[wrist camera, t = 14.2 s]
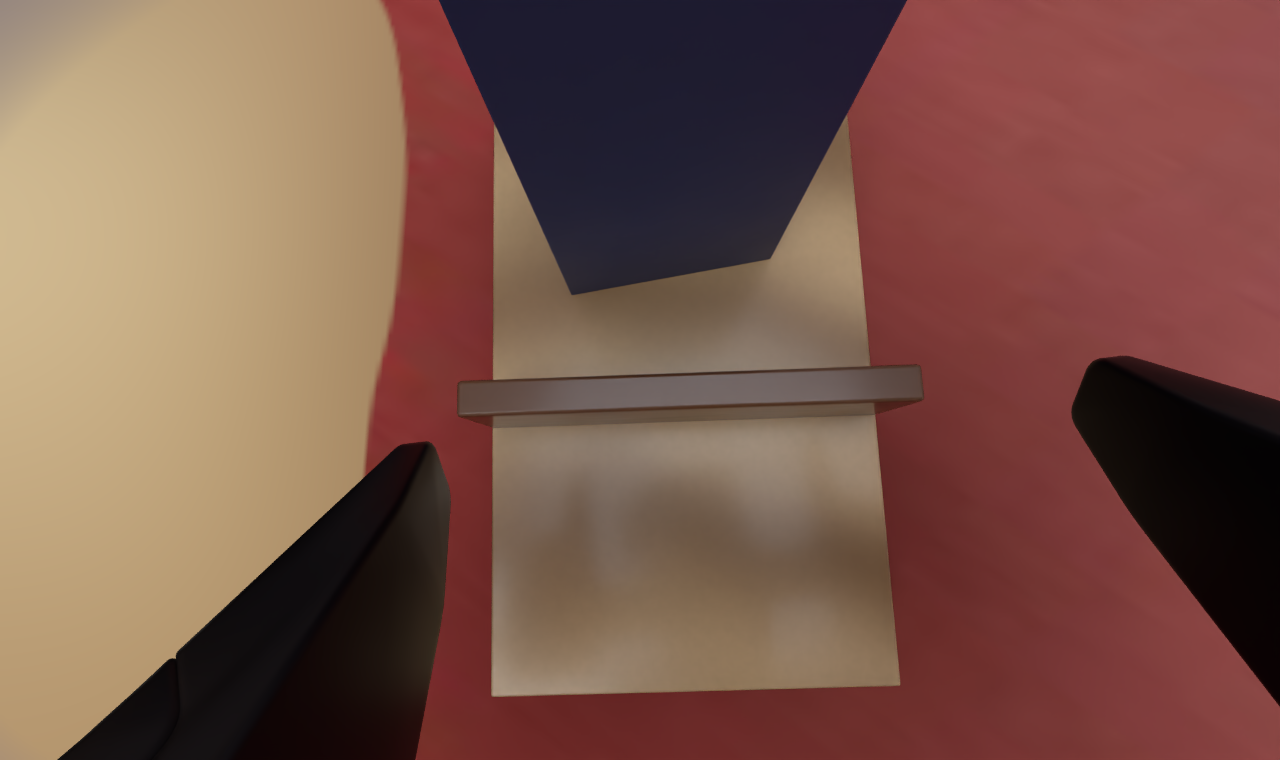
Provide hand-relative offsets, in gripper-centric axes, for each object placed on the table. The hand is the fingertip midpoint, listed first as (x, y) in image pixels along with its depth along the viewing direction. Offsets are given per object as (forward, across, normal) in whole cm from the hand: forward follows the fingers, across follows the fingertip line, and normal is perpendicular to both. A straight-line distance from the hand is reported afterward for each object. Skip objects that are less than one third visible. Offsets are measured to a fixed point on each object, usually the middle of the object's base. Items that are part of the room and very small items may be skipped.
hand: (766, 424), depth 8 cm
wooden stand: (+11, 0, +6) cm, 13 cm away
